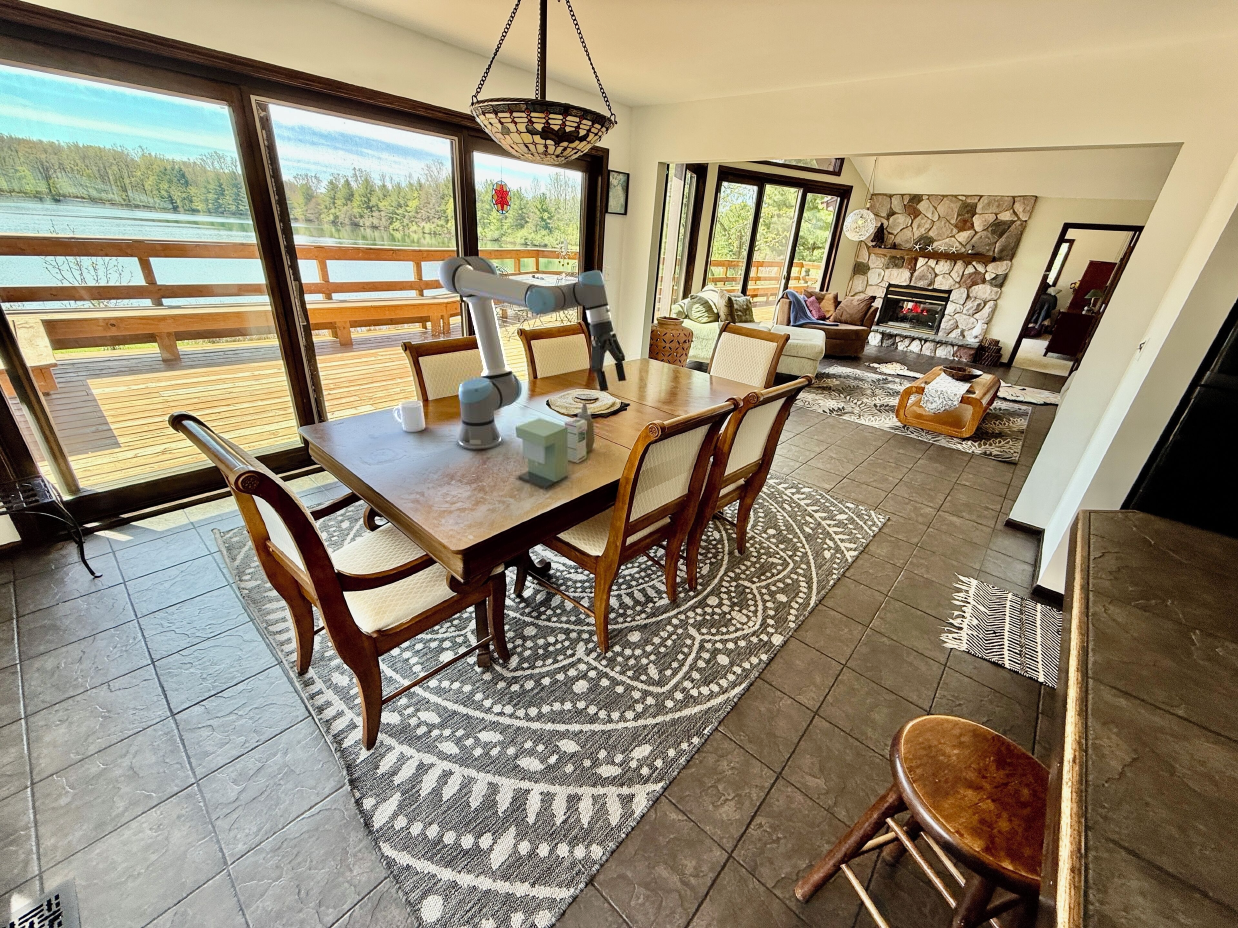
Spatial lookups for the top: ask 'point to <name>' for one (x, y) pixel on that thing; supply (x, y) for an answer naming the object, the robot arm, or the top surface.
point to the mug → (410, 416)
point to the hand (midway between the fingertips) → (613, 385)
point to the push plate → (533, 451)
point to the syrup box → (577, 439)
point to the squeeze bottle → (588, 426)
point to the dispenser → (546, 452)
